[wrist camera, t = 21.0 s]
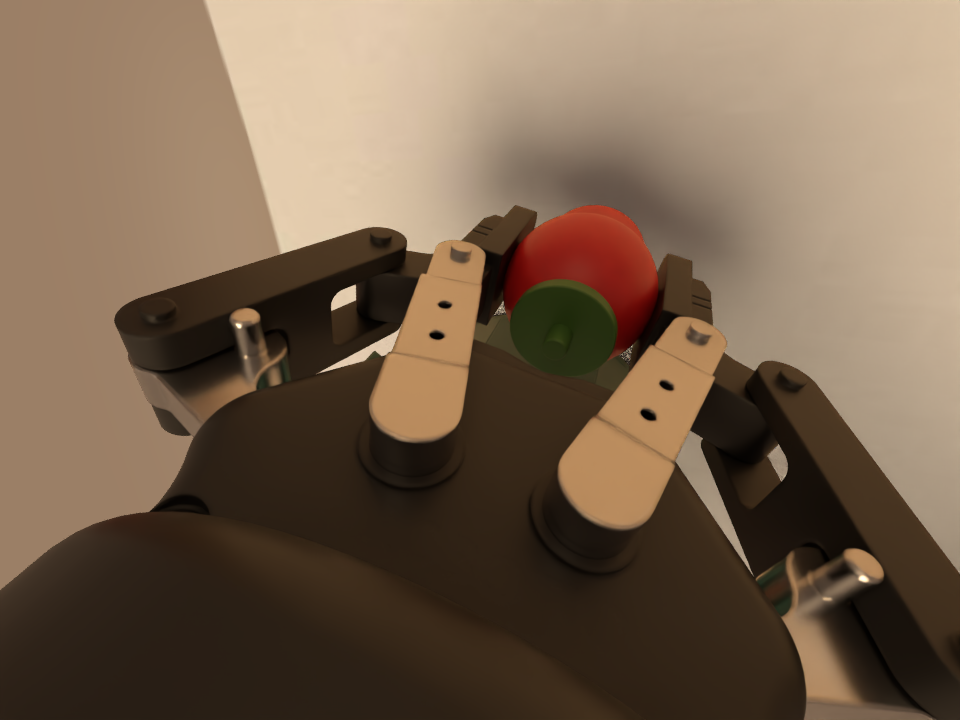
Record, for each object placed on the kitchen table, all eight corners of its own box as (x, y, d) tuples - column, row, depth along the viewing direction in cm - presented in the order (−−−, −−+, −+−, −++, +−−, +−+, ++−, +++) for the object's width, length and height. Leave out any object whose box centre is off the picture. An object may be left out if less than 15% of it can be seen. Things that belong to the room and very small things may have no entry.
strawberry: (600, 155, 13) (556, 223, 9) (693, 261, 14) (694, 370, 9) (505, 248, 16) (437, 334, 11) (586, 332, 16) (551, 441, 12)
